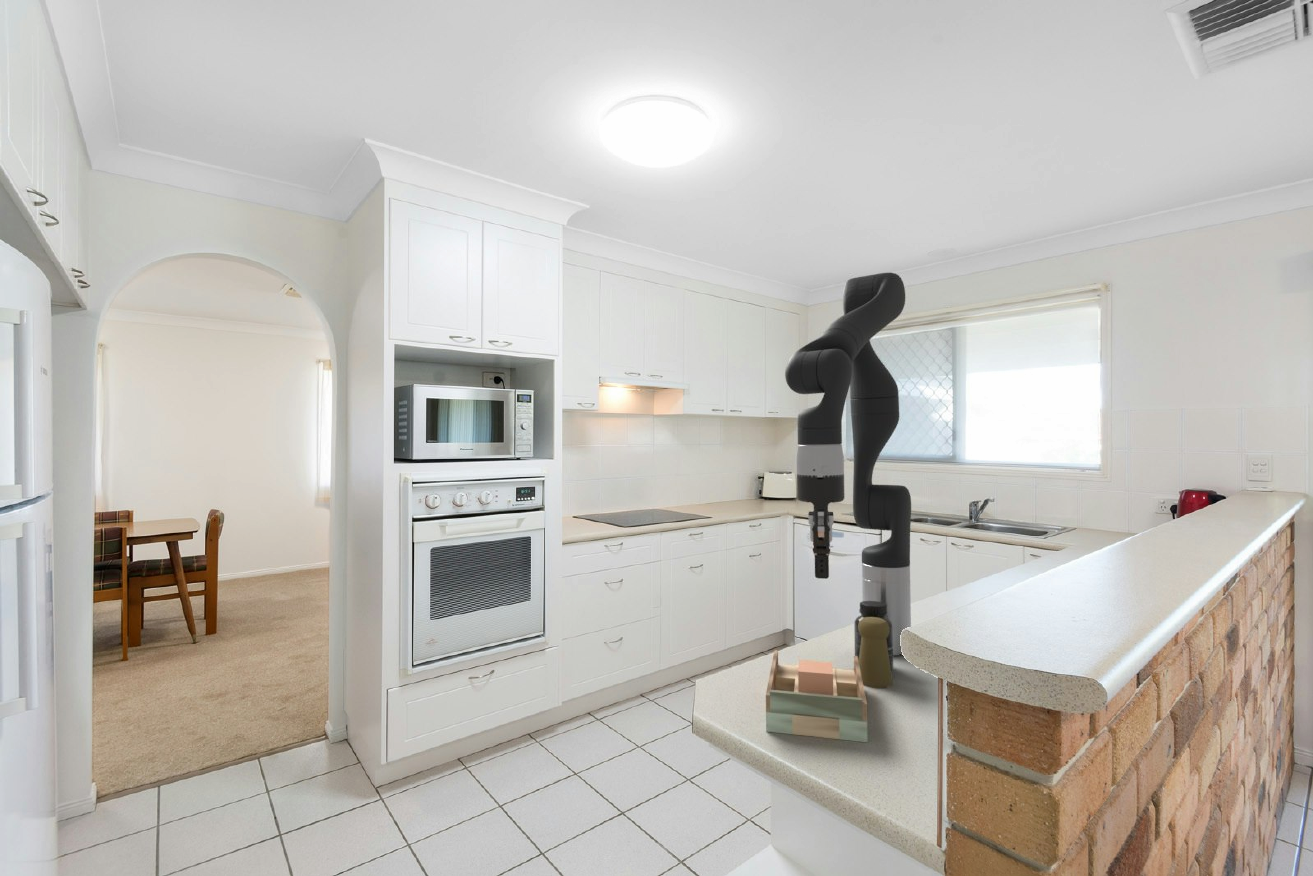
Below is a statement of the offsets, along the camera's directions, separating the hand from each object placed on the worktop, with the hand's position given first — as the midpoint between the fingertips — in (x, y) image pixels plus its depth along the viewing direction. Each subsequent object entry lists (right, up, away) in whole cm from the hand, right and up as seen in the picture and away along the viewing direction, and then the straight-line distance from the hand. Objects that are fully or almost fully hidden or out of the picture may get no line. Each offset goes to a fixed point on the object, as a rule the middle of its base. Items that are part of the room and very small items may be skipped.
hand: (821, 577), depth 101 cm
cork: (+11, -20, +7) cm, 24 cm away
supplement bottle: (+13, -20, +13) cm, 28 cm away
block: (-3, -17, -8) cm, 19 cm away
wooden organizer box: (-2, -20, -3) cm, 20 cm away
